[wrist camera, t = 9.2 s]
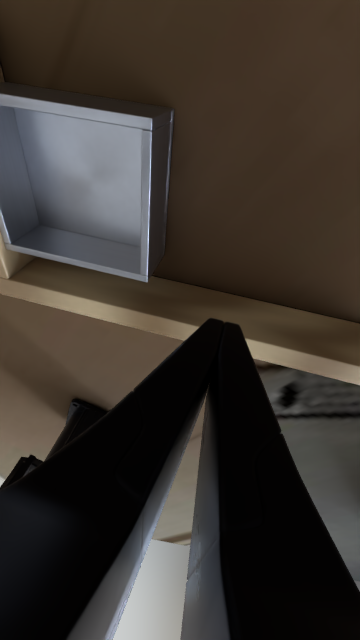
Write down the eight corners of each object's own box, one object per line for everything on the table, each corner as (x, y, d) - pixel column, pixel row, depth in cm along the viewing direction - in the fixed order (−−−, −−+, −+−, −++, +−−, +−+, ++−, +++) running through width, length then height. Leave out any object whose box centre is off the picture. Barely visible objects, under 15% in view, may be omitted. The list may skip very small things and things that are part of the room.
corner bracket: (543, 72, 10) (640, 75, 7) (355, 340, 18) (368, 388, 15) (-44, 3, 12) (-131, -13, 10) (29, 263, 20) (-8, 292, 18)
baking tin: (175, 108, 13) (152, 117, 10) (164, 255, 17) (147, 283, 15) (6, 81, 14) (-48, 85, 11) (39, 227, 18) (6, 249, 16)
